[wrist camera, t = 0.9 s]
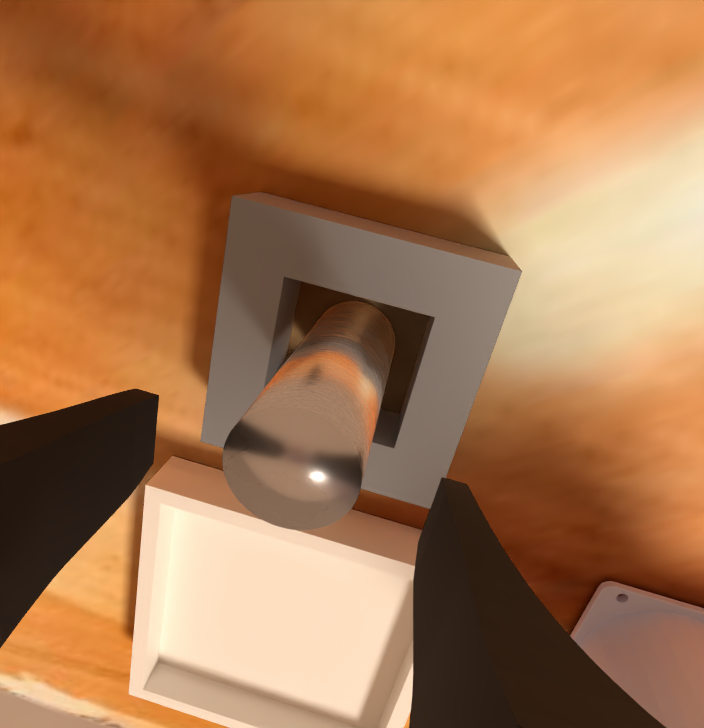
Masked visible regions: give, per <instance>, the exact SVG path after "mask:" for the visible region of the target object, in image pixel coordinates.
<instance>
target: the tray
mask: <svg viewBox="0 0 704 728" xmlns="http://www.w3.org/2000/svg"><path fill="white" fill-rule="evenodd" d="M421 533H422V530H420V529H417V528H414V527H410V526H407V525H403V524H400V523H397V522H393V521H390V520H387V519H383V518H380V517H377V516H373V515H370V514H366V513H363V512H360V511H356V510H353V509H350V511H349V512H348V513H347V514H346V515H345V516H344V517H342V518H341V519H339V520H338V521H336V522H335V523H333V524H330V525H328V526H325V527H322V528H318V529H313V530H292V529H286V528H282V527H278V526H275V525H272V524H270V523H268V522H266V521H264V520H262V519H260V518H258V517H257V516H255V515H254V514H252V513H251V512H250V511H248V510H247V509H246V508H245V507H244V506H243V505H242V504H241V503H240V502H239V501H238V499H237V498H236V497H235V495H234V494H233V492H232V491H231V489H230V487H229V485H228V483H227V481H226V478H225V475H224V471H222V470H219V469H215V468H212V467H208V466H205V465H202V464H198V463H195V462H192V461H188V460H185V459H182V458H178V457H175V456H172V457H171V458H170V459H169V460H168V461H167V462H166V463H165V464H164V465H163V466H162V467H161V469H160V470H159V471H158V472H157V473H156V474H155V475H154V476H153V477H152V478H151V479H150V480H149V482H148V483H147V484H146V485H145V497H144V510H143V523H142V535H141V548H140V560H139V573H138V585H137V598H136V610H135V623H134V636H133V648H132V661H131V673H130V686H129V694H130V695H133V696H136V697H139V698H142V699H145V700H148V701H151V702H154V703H157V704H160V705H163V706H166V707H169V708H172V709H175V710H178V711H181V712H184V713H187V714H190V715H193V716H196V717H199V718H202V719H205V720H208V721H211V722H214V723H217V724H221V725H224V726H227V727H230V728H403V727H404V725H405V723H406V720H407V718H408V716H409V713H410V711H411V703H412V689H413V578H414V570H415V561H416V554H417V546H418V541H419V538H420V535H421Z"/></svg>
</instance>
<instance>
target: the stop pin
mask: <svg viewBox="0 0 704 728" xmlns="http://www.w3.org/2000/svg"><path fill="white" fill-rule="evenodd" d="M394 350H395V334H394V330H393V327H392V325H391V323H390V321H389V320H388V318H387V317H386V316H385V315H384V314H383V313H382V312H381V311H380V310H379V309H377V308H376V307H374V306H372V305H370V304H367V303H364V302H360V301H346V302H341V303H338V304H336V305H334V306H332V307H331V308H329V309H328V310H327V311H326V312H325V313H324V314H323V315H322V316H321V317H320V319H319V320H318V321H317V322H316V324H315V325H314V326H313V328H312V329H311V330H310V331H309V333H308V334H307V335H306V336H305V338H304V339H303V340H302V341H301V343H300V344H299V345H298V346H297V348H296V349H295V350H294V352H293V353H292V354H291V355H290V357H289V358H288V359H287V360H286V362H285V363H284V364H283V365H282V367H281V368H280V369H279V371H278V372H277V373H276V374H275V376H274V377H273V378H272V379H271V381H270V382H269V383H268V384H267V386H266V387H265V388H264V389H263V391H262V392H261V393H260V395H259V396H258V397H257V398H256V400H255V401H254V402H253V403H252V405H251V406H250V407H249V408H248V410H247V411H246V412H245V414H244V415H243V416H242V417H241V419H240V420H239V421H238V422H237V424H236V425H235V426H234V427H233V429H232V430H231V432H230V433H229V435H228V437H227V439H226V441H225V444H224V448H223V454H222V464H223V471H224V475H225V478H226V481H227V483H228V485H229V487H230V489H231V491H232V492H233V494H234V495H235V497H236V498H237V499H238V501H239V502H240V503H241V504H242V505H243V506H244V507H245V508H246V509H247V510H248V511H250V512H251V513H252V514H254V515H255V516H257V517H258V518H260V519H262V520H264V521H266V522H268V523H270V524H272V525H275V526H278V527H282V528H286V529H292V530H313V529H318V528H322V527H325V526H328V525H330V524H333V523H335V522H336V521H338V520H339V519H341V518H342V517H344V516H345V515H346V514H347V513H348V512H349V511H350V509H351V508H352V507H353V506H354V504H355V502H356V500H357V498H358V496H359V493H360V489H361V485H362V481H363V477H364V473H365V469H366V465H367V461H368V457H369V452H370V448H371V444H372V440H373V436H374V432H375V428H376V424H377V420H378V416H379V411H380V407H381V403H382V399H383V395H384V391H385V387H386V383H387V379H388V375H389V370H390V366H391V362H392V358H393V354H394Z"/></svg>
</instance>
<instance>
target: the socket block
mask: <svg viewBox="0 0 704 728" xmlns="http://www.w3.org/2000/svg"><path fill="white" fill-rule="evenodd" d="M521 273H522V271H521V270H520V268H519V267H518V266H517V265H516V263H515V262H514V261H513V260H512V258H511V257H510V256H506V255H503V254H499V253H495V252H491V251H487V250H483V249H479V248H476V247H472V246H468V245H464V244H460V243H456V242H453V241H449V240H445V239H441V238H437V237H433V236H429V235H426V234H422V233H418V232H414V231H410V230H406V229H403V228H399V227H395V226H391V225H387V224H383V223H379V222H376V221H372V220H368V219H364V218H360V217H356V216H352V215H349V214H345V213H341V212H337V211H333V210H329V209H326V208H322V207H318V206H314V205H310V204H306V203H302V202H299V201H295V200H291V199H287V198H283V197H279V196H276V195H272V194H268V193H264V192H255V193H248V194H240V195H233V196H232V200H231V208H230V215H229V223H228V231H227V239H226V247H225V255H224V262H223V270H222V278H221V286H220V294H219V301H218V309H217V317H216V325H215V333H214V341H213V348H212V356H211V364H210V372H209V380H208V388H207V395H206V403H205V411H204V419H203V427H202V434H201V442H204V443H207V444H211V445H214V446H217V447H221V448H224V444H225V441H226V439H227V437H228V435H229V433H230V432H231V430H232V429H233V427H234V426H235V425H236V424H237V422H238V421H239V420H240V419H241V417H242V416H243V415H244V414H245V412H246V411H247V410H248V408H249V407H250V406H251V405H252V403H253V402H254V401H255V400H256V398H257V397H258V396H259V395H260V393H261V392H262V391H263V389H264V388H265V387H266V386H267V384H268V383H269V382H270V381H271V379H272V378H273V377H274V376H275V374H276V373H277V372H278V371H279V369H280V368H281V367H282V365H283V364H284V363H285V362H286V357H287V352H288V347H289V341H290V336H291V331H292V326H293V321H294V315H295V310H296V305H297V300H298V295H299V289H300V284H301V281H302V282H306V283H310V284H313V285H317V286H321V287H324V288H328V289H332V290H335V291H339V292H343V293H347V294H350V295H354V296H358V297H361V298H365V299H369V300H373V301H376V302H380V303H384V304H387V305H391V306H395V307H398V308H402V309H406V310H410V311H413V312H417V313H421V314H424V315H428V316H430V317H429V320H428V323H427V327H426V330H425V333H424V336H423V340H422V343H421V346H420V350H419V353H418V356H417V359H416V363H415V366H414V369H413V372H412V376H411V379H410V382H409V386H408V389H407V392H406V395H405V399H404V402H403V405H402V408H401V412H400V414H399V413H395V412H392V411H388V410H385V409H381V408H380V411H379V416H378V420H377V424H376V428H375V432H374V436H373V440H372V444H371V448H370V452H369V457H368V461H367V465H366V469H365V473H364V477H363V481H362V485H361V489H363V490H367V491H370V492H374V493H377V494H380V495H384V496H387V497H391V498H394V499H397V500H401V501H404V502H408V503H411V504H414V505H418V506H421V507H425V508H428V509H430V508H431V505H432V502H433V500H434V497H435V494H436V491H437V489H438V486H439V483H440V481H441V478H442V477H444V478H446V476H447V473H448V470H449V468H450V465H451V462H452V460H453V457H454V454H455V451H456V449H457V446H458V443H459V441H460V438H461V435H462V433H463V430H464V427H465V424H466V422H467V419H468V416H469V414H470V411H471V408H472V405H473V403H474V400H475V397H476V395H477V392H478V389H479V386H480V384H481V381H482V378H483V376H484V373H485V370H486V368H487V365H488V362H489V359H490V357H491V354H492V351H493V349H494V346H495V343H496V340H497V338H498V335H499V332H500V330H501V327H502V324H503V321H504V319H505V316H506V313H507V311H508V308H509V305H510V302H511V300H512V297H513V294H514V292H515V289H516V286H517V284H518V281H519V278H520V275H521Z"/></svg>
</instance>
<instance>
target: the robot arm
mask: <svg viewBox="0 0 704 728" xmlns="http://www.w3.org/2000/svg"><path fill="white" fill-rule="evenodd" d="M158 401H159V395H156V394H153V393H149V392H146V391H142V390H139V389H132V390H127V391H123V392H119V393H115V394H112V395H108V396H105V397H102V398H98V399H95V400H91V401H88V402H85V403H81V404H78V405H74V406H71V407H68V408H64V409H61V410H57V411H54V412H50V413H46V414H42V415H38V416H34V417H31V418H27V419H23V420H19V421H15V422H11V423H7V424H3V425H0V648H1V646H2V645H3V644H4V642H5V641H6V640H7V638H8V637H9V636H10V634H11V633H12V631H13V630H14V629H15V627H16V626H17V625H18V623H19V622H20V621H21V619H22V618H23V617H24V615H25V614H26V613H27V611H28V610H29V609H30V608H31V606H32V605H33V604H34V602H35V601H36V600H37V599H38V597H39V596H40V595H41V593H42V592H43V591H44V589H45V588H46V587H47V586H48V584H49V583H50V582H51V581H52V579H53V578H54V577H55V576H56V575H57V574H58V572H59V571H60V570H61V569H62V568H63V567H64V566H65V564H66V563H67V562H68V561H69V560H70V559H71V558H72V557H73V556H74V555H75V554H76V553H77V552H78V551H79V550H80V549H81V548H82V546H83V545H84V544H85V543H86V542H87V541H88V540H89V539H90V538H91V537H92V536H93V535H94V534H95V533H96V532H97V531H98V530H99V529H100V527H101V526H102V525H103V524H104V523H105V522H106V521H107V520H108V519H109V518H110V517H111V516H112V515H113V514H114V513H115V511H116V510H117V509H118V508H119V507H120V506H121V505H122V504H123V503H124V502H125V501H126V500H127V498H128V497H129V496H130V495H131V494H132V492H133V491H134V490H135V488H136V487H137V486H138V484H139V483H140V482H141V480H142V479H143V477H144V476H145V474H146V473H147V471H148V470H149V469H150V467H151V466H152V464H153V460H154V448H155V436H156V424H157V413H158ZM619 594H624V595H622V596H618V595H619ZM409 728H704V608H701V607H698V606H694V605H691V604H688V603H684V602H681V601H678V600H674V599H671V598H667V597H664V596H661V595H657V594H654V593H651V592H647V591H644V590H641V589H637V588H634V587H630V586H627V585H624V584H620V583H617V582H613V581H605V582H603V583H601V584H600V585H599V586H598V588H597V590H596V592H595V593H594V595H593V597H592V599H591V600H590V602H589V604H588V605H587V607H586V609H585V611H584V612H583V614H582V616H581V618H580V619H579V621H578V623H577V624H576V626H575V628H574V630H573V631H572V633H571V635H570V636H569V634H568V633H567V632H566V631H565V630H564V629H563V628H562V626H561V625H560V624H559V623H558V622H557V621H556V620H555V618H554V617H553V616H552V615H551V613H550V612H549V611H548V610H547V608H546V607H545V606H544V605H543V604H542V602H541V601H540V600H539V599H538V597H537V596H536V595H535V594H534V592H533V591H532V590H531V588H530V587H529V586H528V584H527V583H526V581H525V580H524V579H523V577H522V576H521V574H520V573H519V571H518V570H517V568H516V567H515V566H514V564H513V563H512V561H511V560H510V558H509V557H508V555H507V553H506V552H505V550H504V549H503V547H502V546H501V544H500V542H499V541H498V539H497V537H496V536H495V534H494V532H493V531H492V529H491V527H490V525H489V524H488V522H487V520H486V518H485V517H484V515H483V513H482V511H481V509H480V507H479V506H478V504H477V502H476V500H475V498H474V496H473V495H472V493H471V491H470V489H469V487H468V486H467V484H464V483H461V482H457V481H454V480H450V479H447V478H444V477H442V478H441V481H440V483H439V486H438V489H437V491H436V494H435V497H434V500H433V502H432V505H431V508H430V511H429V513H428V516H427V519H426V522H425V524H424V527H423V530H422V533H421V535H420V538H419V541H418V546H417V554H416V561H415V570H414V578H413V689H412V703H411V714H410V724H409Z"/></svg>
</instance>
